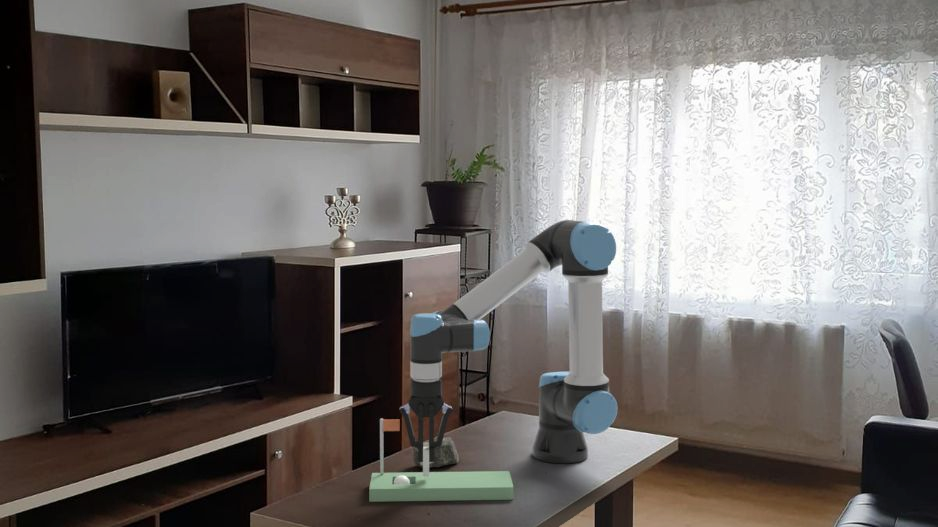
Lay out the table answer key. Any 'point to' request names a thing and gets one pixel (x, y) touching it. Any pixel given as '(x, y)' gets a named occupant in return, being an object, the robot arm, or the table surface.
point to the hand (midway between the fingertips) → (426, 474)
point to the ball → (401, 480)
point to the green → (437, 482)
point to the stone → (440, 454)
